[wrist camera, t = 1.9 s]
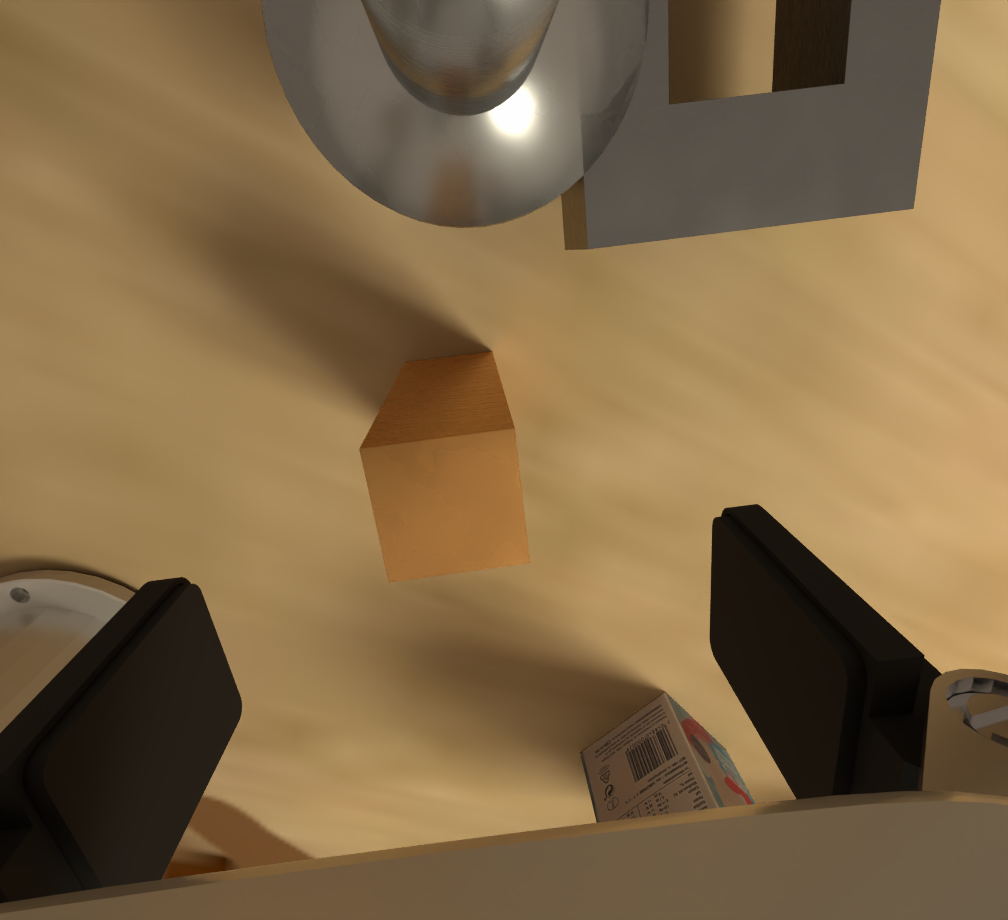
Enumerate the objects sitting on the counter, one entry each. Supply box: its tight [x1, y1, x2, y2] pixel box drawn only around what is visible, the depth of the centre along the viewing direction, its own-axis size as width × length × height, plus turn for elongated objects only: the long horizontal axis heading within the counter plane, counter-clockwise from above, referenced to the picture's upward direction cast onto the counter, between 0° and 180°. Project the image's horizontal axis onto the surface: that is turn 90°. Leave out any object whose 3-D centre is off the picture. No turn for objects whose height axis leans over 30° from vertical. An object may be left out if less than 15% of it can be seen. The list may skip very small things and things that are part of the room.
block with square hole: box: [262, 0, 941, 250], centre depth 16 cm, size 12×18×14 cm, turn 97°
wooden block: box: [360, 351, 530, 582], centre depth 21 cm, size 4×4×12 cm
